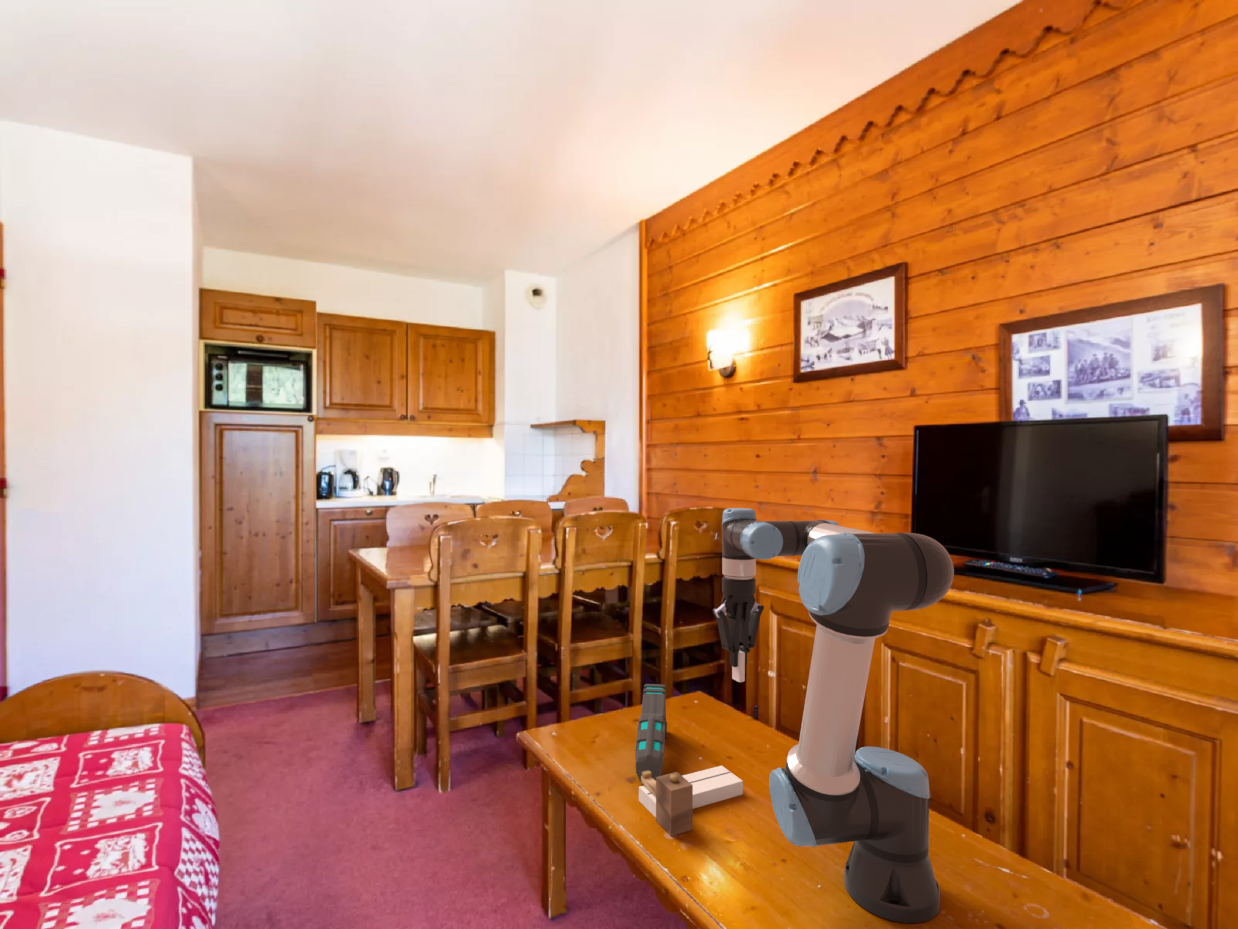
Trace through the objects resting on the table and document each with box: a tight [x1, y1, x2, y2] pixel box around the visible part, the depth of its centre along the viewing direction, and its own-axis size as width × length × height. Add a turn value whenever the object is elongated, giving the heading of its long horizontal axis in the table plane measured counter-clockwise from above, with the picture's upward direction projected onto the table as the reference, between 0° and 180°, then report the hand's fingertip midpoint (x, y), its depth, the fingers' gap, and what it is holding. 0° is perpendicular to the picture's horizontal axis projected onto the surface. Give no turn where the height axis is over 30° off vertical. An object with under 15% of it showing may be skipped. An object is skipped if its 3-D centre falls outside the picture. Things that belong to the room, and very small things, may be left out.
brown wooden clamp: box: [640, 770, 694, 837], centre depth 132 cm, size 15×5×10 cm, turn 27°
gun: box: [634, 683, 668, 783], centre depth 158 cm, size 7×29×15 cm, turn 173°
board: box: [638, 765, 744, 819], centre depth 139 cm, size 8×22×3 cm, turn 117°
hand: (738, 679), depth 143 cm, fingers closed
